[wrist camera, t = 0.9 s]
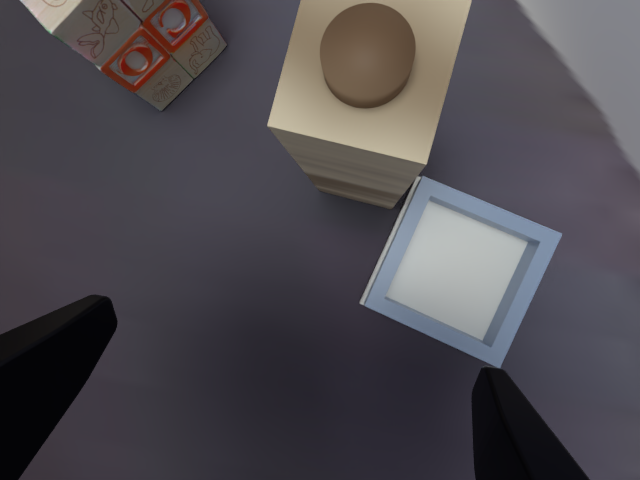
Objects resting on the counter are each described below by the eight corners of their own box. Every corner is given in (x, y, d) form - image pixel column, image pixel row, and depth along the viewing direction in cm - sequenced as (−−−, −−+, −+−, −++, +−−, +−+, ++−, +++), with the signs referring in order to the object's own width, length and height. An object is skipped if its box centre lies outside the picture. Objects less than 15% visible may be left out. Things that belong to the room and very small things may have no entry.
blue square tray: (486, 359, 23) (501, 373, 20) (359, 300, 23) (359, 307, 21) (545, 233, 22) (567, 231, 20) (414, 178, 23) (420, 170, 21)
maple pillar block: (391, 209, 23) (431, 157, 10) (319, 190, 24) (259, 116, 10) (411, 136, 23) (480, -21, 10) (338, 119, 24) (305, -54, 10)
